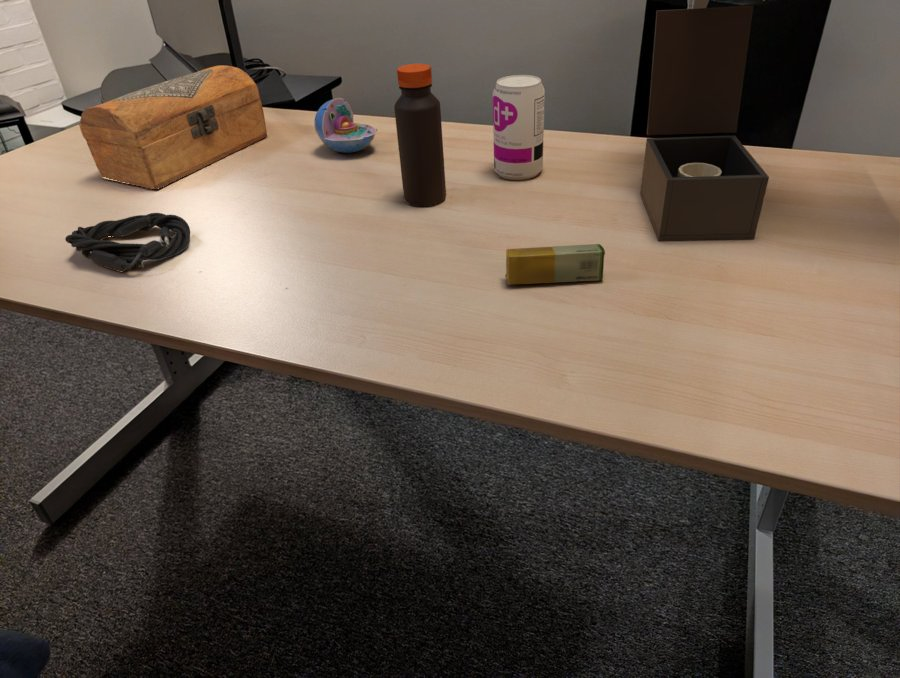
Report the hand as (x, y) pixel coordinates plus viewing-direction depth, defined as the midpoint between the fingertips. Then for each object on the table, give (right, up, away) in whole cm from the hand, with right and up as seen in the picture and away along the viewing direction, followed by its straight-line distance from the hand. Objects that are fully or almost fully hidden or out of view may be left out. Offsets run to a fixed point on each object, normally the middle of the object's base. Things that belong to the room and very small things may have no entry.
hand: (694, 20), depth 93 cm
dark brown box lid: (0, -8, -2) cm, 8 cm away
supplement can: (-23, -17, +18) cm, 34 cm away
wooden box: (-85, -10, +34) cm, 92 cm away
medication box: (-22, -38, -11) cm, 46 cm away
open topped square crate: (0, -28, +1) cm, 28 cm away
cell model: (-54, -10, +31) cm, 63 cm away
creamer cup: (0, -27, +1) cm, 27 cm away
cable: (-82, -32, +3) cm, 88 cm away
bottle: (-39, -23, +11) cm, 47 cm away
